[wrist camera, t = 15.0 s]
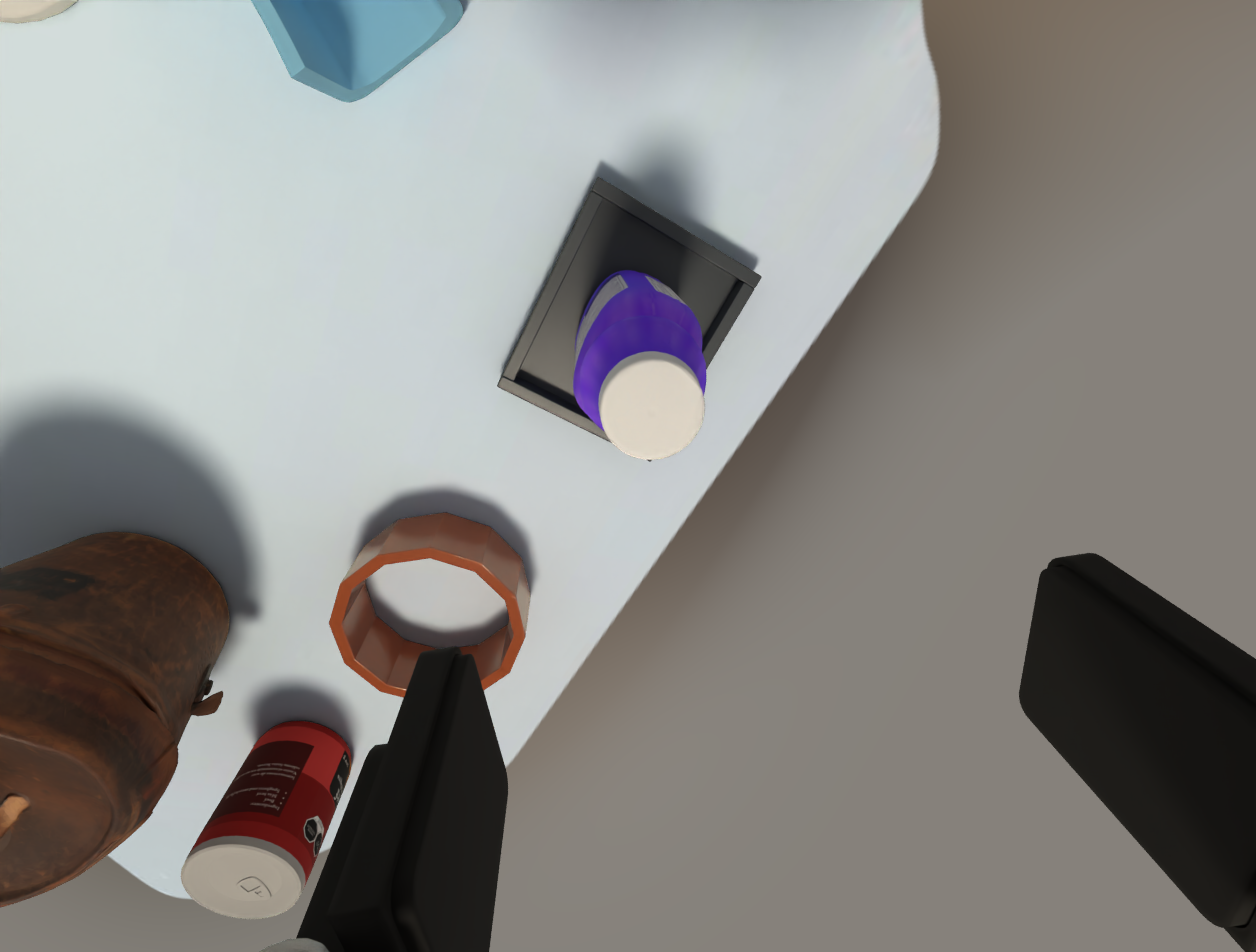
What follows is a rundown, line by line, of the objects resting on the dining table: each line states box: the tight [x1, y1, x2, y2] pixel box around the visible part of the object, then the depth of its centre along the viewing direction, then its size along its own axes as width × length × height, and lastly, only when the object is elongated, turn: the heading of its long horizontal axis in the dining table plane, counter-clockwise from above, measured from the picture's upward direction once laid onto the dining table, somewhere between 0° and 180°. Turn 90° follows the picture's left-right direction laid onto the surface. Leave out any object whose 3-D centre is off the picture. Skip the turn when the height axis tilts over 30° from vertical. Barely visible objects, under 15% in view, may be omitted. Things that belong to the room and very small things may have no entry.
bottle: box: [573, 270, 706, 460], centre depth 31 cm, size 7×6×17 cm
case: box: [0, 532, 229, 907], centre depth 37 cm, size 18×20×18 cm
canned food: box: [181, 721, 351, 919], centre depth 47 cm, size 8×8×11 cm
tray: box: [497, 177, 761, 462], centre depth 39 cm, size 14×11×2 cm
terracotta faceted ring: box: [329, 513, 530, 697], centre depth 44 cm, size 13×13×5 cm
